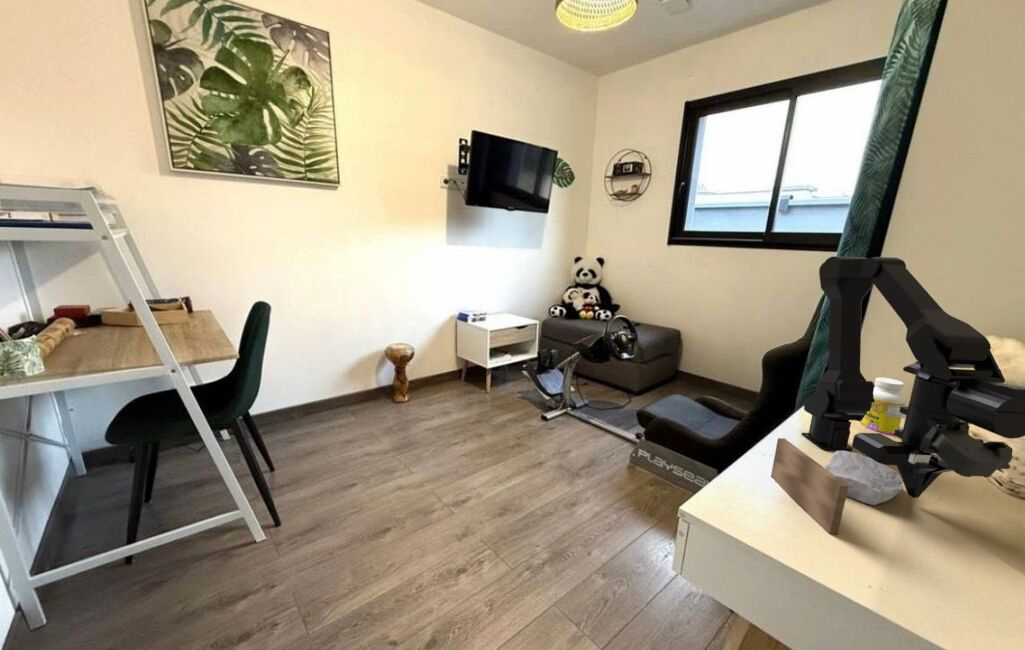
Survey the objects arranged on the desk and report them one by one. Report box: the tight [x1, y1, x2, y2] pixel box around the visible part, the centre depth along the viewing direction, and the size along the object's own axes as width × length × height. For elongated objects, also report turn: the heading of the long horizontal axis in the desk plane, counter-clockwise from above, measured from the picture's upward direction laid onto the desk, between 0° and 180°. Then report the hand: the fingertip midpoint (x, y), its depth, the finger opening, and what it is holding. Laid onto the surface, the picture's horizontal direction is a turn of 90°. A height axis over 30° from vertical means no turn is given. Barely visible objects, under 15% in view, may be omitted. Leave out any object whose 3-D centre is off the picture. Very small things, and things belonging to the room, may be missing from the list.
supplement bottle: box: [859, 377, 907, 436], centre depth 90 cm, size 7×7×13 cm
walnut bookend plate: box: [770, 437, 849, 535], centre depth 64 cm, size 14×1×8 cm, turn 179°
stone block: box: [823, 450, 904, 506], centre depth 69 cm, size 12×5×10 cm
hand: (912, 496), depth 65 cm, fingers closed
